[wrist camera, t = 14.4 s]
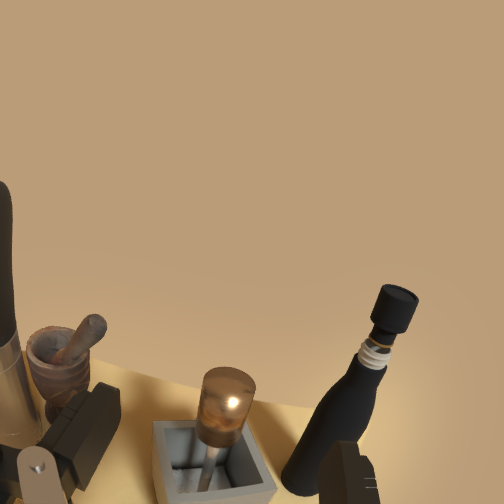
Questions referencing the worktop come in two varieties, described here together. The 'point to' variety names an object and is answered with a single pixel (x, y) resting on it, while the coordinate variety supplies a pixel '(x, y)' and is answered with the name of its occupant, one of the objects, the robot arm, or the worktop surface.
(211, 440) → the plunger
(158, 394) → the worktop surface
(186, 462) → the grey open box
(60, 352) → the mortar and pestle
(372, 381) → the black water bottle
